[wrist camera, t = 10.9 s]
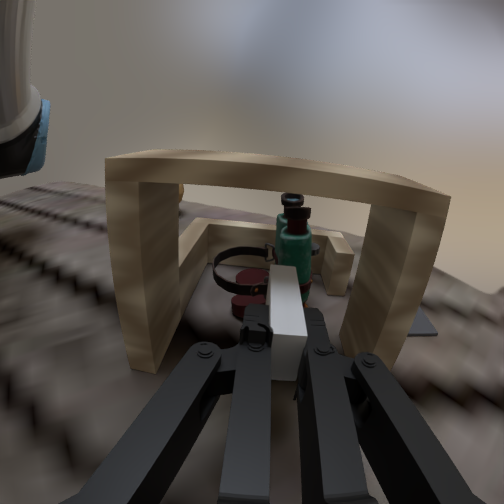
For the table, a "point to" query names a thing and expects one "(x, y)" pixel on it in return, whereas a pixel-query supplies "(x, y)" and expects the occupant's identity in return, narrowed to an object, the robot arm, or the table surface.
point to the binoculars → (274, 257)
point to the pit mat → (422, 325)
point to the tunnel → (256, 235)
